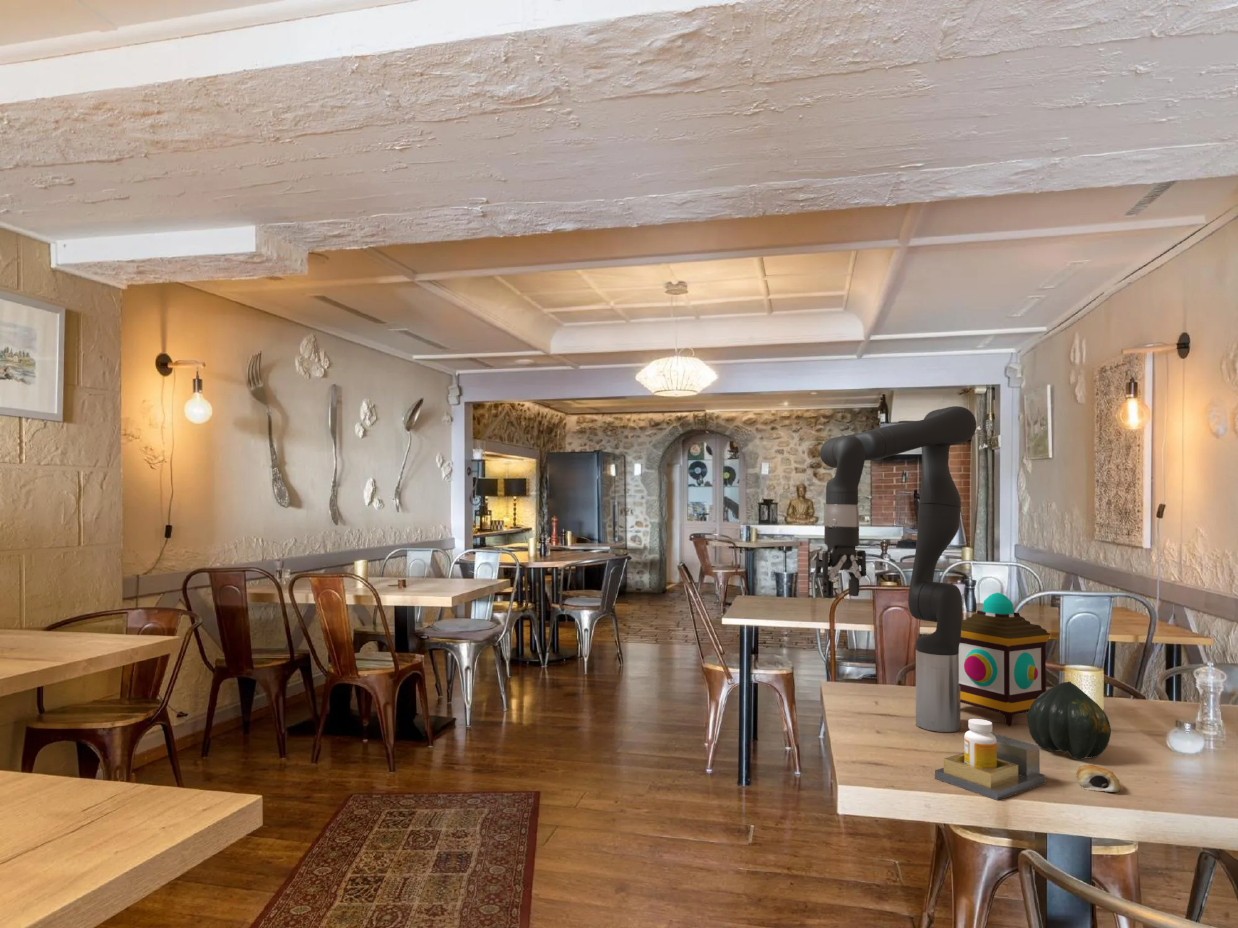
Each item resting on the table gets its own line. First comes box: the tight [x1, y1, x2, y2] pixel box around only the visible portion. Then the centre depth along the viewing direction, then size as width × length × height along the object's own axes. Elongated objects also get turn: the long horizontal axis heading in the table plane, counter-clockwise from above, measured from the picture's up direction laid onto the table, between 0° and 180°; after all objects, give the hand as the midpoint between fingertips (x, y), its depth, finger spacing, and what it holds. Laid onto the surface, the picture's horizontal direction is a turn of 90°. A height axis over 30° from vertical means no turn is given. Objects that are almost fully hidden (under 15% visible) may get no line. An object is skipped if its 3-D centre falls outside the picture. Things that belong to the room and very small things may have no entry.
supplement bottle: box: [963, 718, 997, 771], centre depth 138 cm, size 5×5×10 cm
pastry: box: [1075, 764, 1122, 793], centre depth 140 cm, size 9×7×4 cm
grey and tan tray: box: [934, 732, 1046, 801], centre depth 140 cm, size 16×12×6 cm
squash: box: [1026, 680, 1112, 760], centre depth 158 cm, size 14×15×15 cm
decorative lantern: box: [959, 592, 1051, 728], centre depth 187 cm, size 20×20×30 cm
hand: (841, 596), depth 169 cm, fingers open, 8 cm apart
